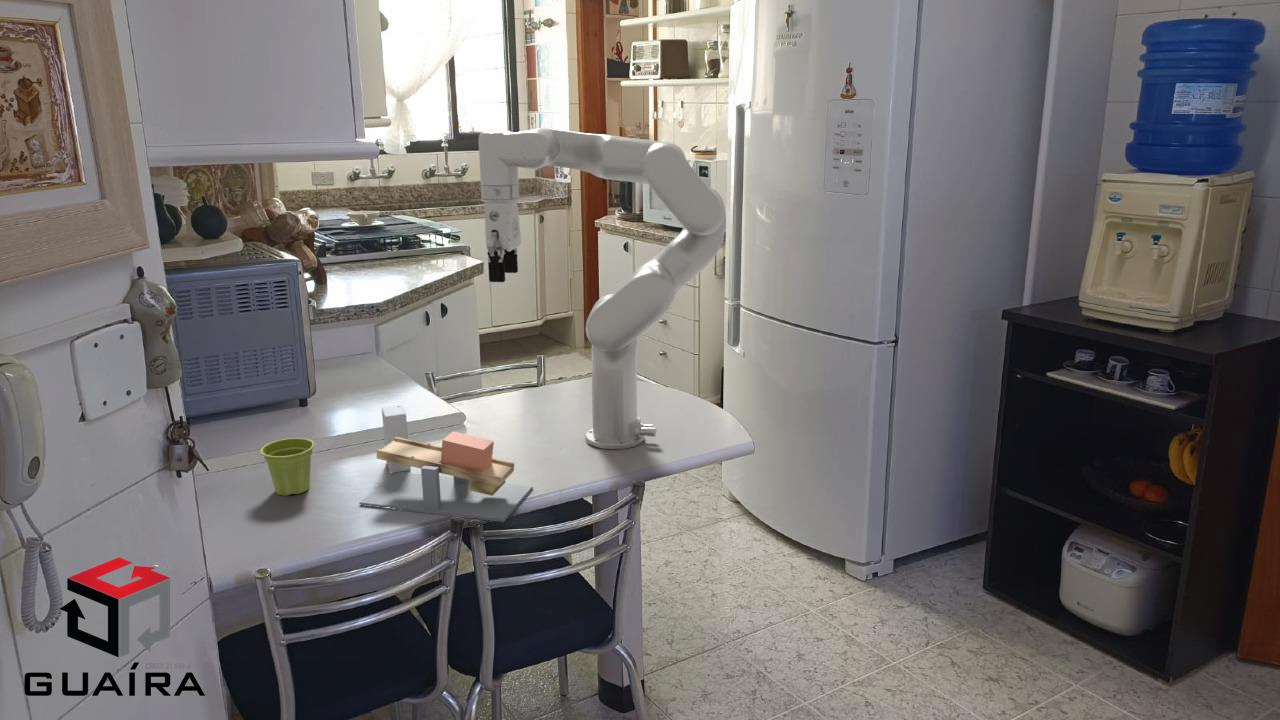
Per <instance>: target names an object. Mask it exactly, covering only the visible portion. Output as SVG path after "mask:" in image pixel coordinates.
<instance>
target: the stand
mask: <svg viewBox="0 0 1280 720" xmlns="http://www.w3.org/2000/svg"><path fill="white" fill-rule="evenodd" d="M420 473H421V474H419V473H410V472H404V471H402V472H395V474H394V475H392V476H391V477H390V478H389V479H387V480H386V481H384V482H383V483H382V484H381V485H380V486H378V487H377V488H376V489H374V490H373V491H372V492H371V493H369V494H368V495H367V496H366V497H364V498H363V499H361V501H359V505H360V504H361V505H371V506H379V507H390V508H395V509H402V510H401V511H404V510H409V511H408V512H413V511H415V512H416V513H421V512H423V514H430V513H431V514H432V515H440V516H441V515H442V516H447V517H449V516H451V517H456V516H461V517H460V518H467V519H472V520H473V519H474V520H475V518H478V519H477V520H484V521H492V522H498V523H499V522H501V523H504V522H505V521H506V520H507V519H508V518H509V517H510V515H512V513H513V512H514V511H515V510H516V509H517V507H519V505H520V504H521V503H522V502H523V501H524V500H525V498H526V497H527V496H528V495H529V494H530V493H531V492H532V490H533V489H534V488H533V485H525V484H517V483H516V484H515V483H506V482H505V483H504V484H503V485H502V486H501V487H500V488H499V489H498V491H497V492H496V493H495V494H494V495H493V496H491V495H487V494H482V493H478V492H474V491H470V480H469V479H465V478H460V477H456V476H453V477H451V476H450V477H448V476H440V473H439V467H432V466H423V467H422V468H421V469H420ZM361 505H360V506H361ZM395 509H394V510H395ZM415 512H414V513H415Z"/></svg>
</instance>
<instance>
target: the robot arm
mask: <svg viewBox="0 0 1280 720" xmlns="http://www.w3.org/2000/svg"><path fill="white" fill-rule="evenodd" d="M478 155H479V156H478V158H479V172H480V173H479V174H480V177H479V178H480V192H481V193H480V195H481V202H483V203H485V209H484V210H485V212H484V218H485V219H484V222H485V223H484V226H485V227H484V229H485V231H484V233H485V245H486V246H485V247H486V250H487V263H488V264H487V265H488V267H487V268H488V281H489V282H491V283H504V282H505V281H506V273H507V274H516V273H518V271H519V267H518V266H519V264H518V247H519V246H520V245H521V243H522V237H521V227H520V226H521V225H520V217H519V216H520V213H519V207H518V206H519V205H518V202H519V201H520V193H519V192H520V191H519V190H520V188H519V187H520V186H519V170H518V169H519V168H521V169H529V170H537V169H541V168H543V167H544V168H545V166H546V167H556V168H564V169H572V170H578V171H582V172H586V173H588V174H589V173H590V174H592V175H593V176H595V177H597V178H600V179H604V180H609V181H610V180H612V181H619V182H629V183H637V184H646V185H648V186H649V187H650V189H652V191H653V192H654V193H655V195H656V196H657V198H658V199H659V200H660V201H661V202H662V203H663V204H664V205H665V207H666V208H667V209H668V211H670V213H671V214H672V215H673V216H674V218H675V219H676V220H677V221H678V222H679V224H681V226H682V227H683V228H682V229H681V231H680V232H679V233H678V235H677V236H675V238H673V239H672V240H671V241H670V242H669V243H668V244H667V245H666V246H665V247H664V248H662V250H660V251H659V252H658V253H657V254H655V255H654V256H652V258H650V259H649V260H648V261H646V262H645V263H643V264H642V265H641V266H639V267H638V268H637V269H636V270H635V271H634V272H633V274H632V275H631V278H630V279H629V280H628V281H627V282H626V283H625V284H624V285H623V286H621V287H620V288H619V289H618V290H617V291H616V292H615V293H609V294H606V295H603V296H601V297H600V298H599V299H598V300H597V301H596V302H595V303H594V305H593V306H592V309H591V311H590V312H589V315H588V317H587V319H586V322H585V333H586V337H587V340H588V341H589V342H590V344H591V402H592V404H591V405H592V407H591V408H592V410H591V411H592V413H591V414H592V428H590V429H588V431H587V432H585V441H586V442H587V443H588V444H589V445H591V446H593V447H596V448H600V449H606V450H622V449H629V448H634V447H636V446H638V445H640V444H641V443H643V441H644V440H645V436H646V437H651V438H656V436H657V427H654V424H649V423H647V424H644V423H643V422H641V421H642V418H641V416H638V390H637V389H638V383H637V382H638V380H637V378H638V373H637V372H638V337H639V336H640V335H642V334H643V332H645V331H646V330H647V329H649V328H651V326H652V325H653V324H655V323H656V322H657V321H658V320H660V319H661V318H662V317H663V316H664V315H665V314H667V312H668V310H670V308H671V307H672V306H673V303H674V301H675V297H676V294H677V293H679V291H680V290H682V289H683V288H684V287H685V286H686V285H687V284H689V282H691V281H692V280H693V279H694V278H695V277H696V276H697V275H699V273H701V272H702V270H704V269H705V268H706V267H707V266H708V265H709V264H710V263H711V262H712V261H713V260H714V258H715V257H716V255H717V254H718V252H719V250H720V248H721V247H722V244H723V242H724V239H725V236H726V235H725V234H726V230H727V214H726V207H725V203H724V202H725V201H724V200H723V197H722V196H721V194H720V193H719V192H718V191H717V190H715V189H714V188H712V187H709V186H708V185H707V184H706V183H705V182H704V181H703V179H702V178H701V177H700V176H699V174H697V172H696V170H694V168H693V167H692V166H691V164H690V163H689V162H688V161H687V157H686V154H685V152H684V151H683V149H682V148H681V147H680V146H678V145H676V144H674V143H672V142H668V141H660V140H659V141H658V140H653V139H644V138H643V139H642V138H635V137H634V138H633V137H627V136H626V137H625V136H619V135H610V134H602V133H601V134H600V133H599V134H597V133H585V132H580V131H579V132H577V131H572V130H571V131H570V130H562V129H555V128H554V129H553V128H546V127H543V128H542V127H538V128H533V129H528V130H524V131H518V132H513V131H511V130H506V129H505V130H503V129H501V130H500V129H499V130H497V129H496V130H495V129H494V130H484V131H481V132H480V133H479V136H478Z"/></svg>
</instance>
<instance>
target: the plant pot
mask: <svg viewBox="0 0 1280 720" xmlns="http://www.w3.org/2000/svg"><path fill="white" fill-rule="evenodd" d="M314 447H315V442H314V441H313V440H312V439H308V438H301V437H291V438H284V439H283V438H282V439H279V440H275V441H272V442H269V443H267V444H265V445H264V446H263V447H261V449H260V454H261V455H262V456H263V458H264V460H265V461H266V463H267V467H268V470H269V473H270V477H271V480H272V483H273V487H274V492H275V493H276V494H277V495H279V496H284V497H285V496H290V495H292V494H293V495H300V494H302V493H304V492H306V491H308V490H309V489H310V486H311V465H312V464H311V462H312V459H311V458H312V455H313V449H314Z"/></svg>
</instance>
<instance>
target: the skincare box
mask: <svg viewBox="0 0 1280 720" xmlns="http://www.w3.org/2000/svg"><path fill="white" fill-rule="evenodd" d="M381 415H382V416H381V417H382V427H383V437H384V438H383V439H384V447H385V446H387V445H388V444H389V443H391V442H392V441H394V438H395V437H399V438H404V439H408V440H409V433H408V422H407V414H406V411H405V408H404V406H403V404H399V405H389V406H382V407H381ZM386 464H387V467H388V471H389V473H390V474H394V473H395V474H396V473H397V472H408V471H411V470H412V469H411V467H412V466H407V465H403V464H398V463H394V462H389V461H386Z"/></svg>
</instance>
